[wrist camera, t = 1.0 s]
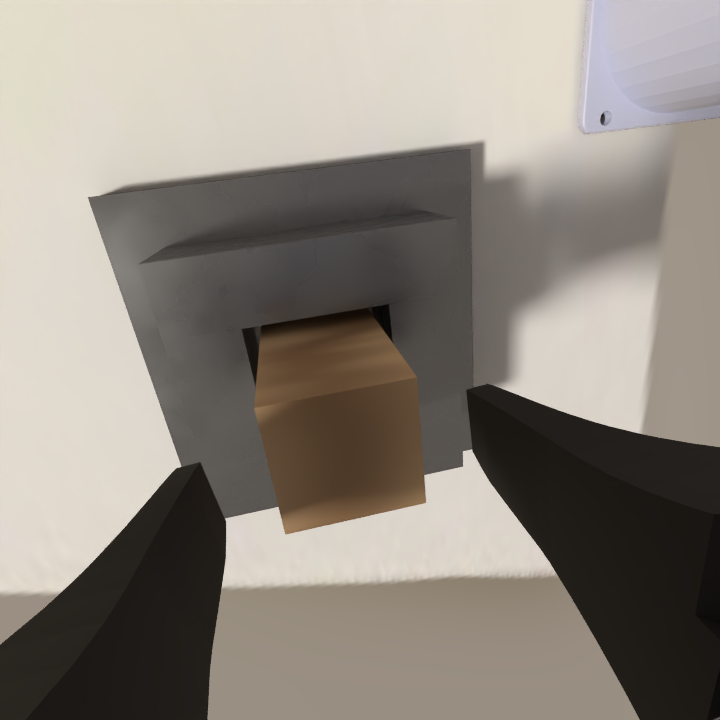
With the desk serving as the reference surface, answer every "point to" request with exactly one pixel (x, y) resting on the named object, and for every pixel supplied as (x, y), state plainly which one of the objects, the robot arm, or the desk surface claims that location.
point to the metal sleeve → (294, 295)
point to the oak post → (338, 420)
